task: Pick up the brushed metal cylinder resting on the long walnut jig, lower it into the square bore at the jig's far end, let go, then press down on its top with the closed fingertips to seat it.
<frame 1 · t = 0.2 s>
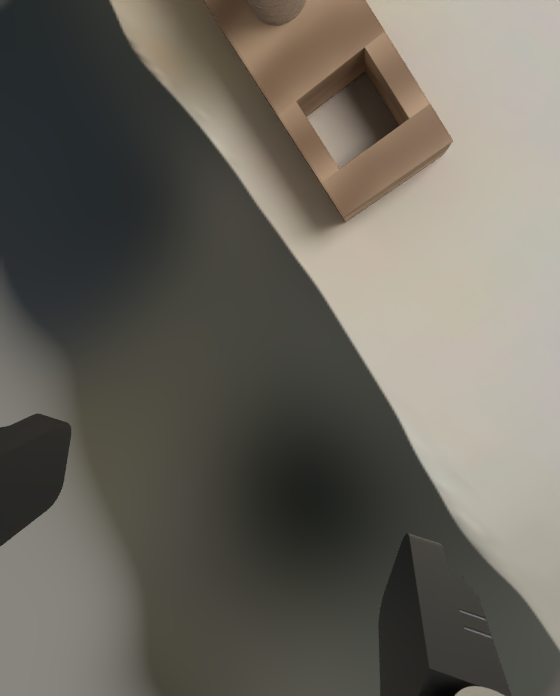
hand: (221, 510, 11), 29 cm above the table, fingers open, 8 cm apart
jig: (301, 45, 35), on the table
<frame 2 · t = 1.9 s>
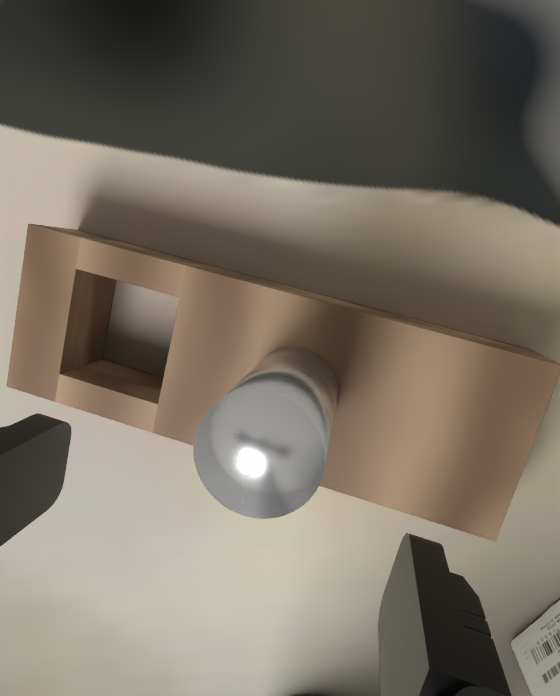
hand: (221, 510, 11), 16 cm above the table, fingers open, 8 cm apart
jig: (270, 360, 26), on the table
brushed metal cylinder: (294, 389, 22), point 4 cm above the table, touching jig
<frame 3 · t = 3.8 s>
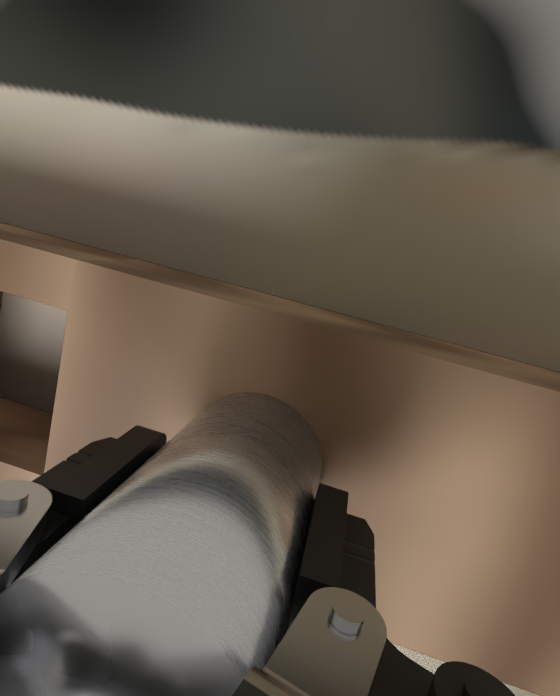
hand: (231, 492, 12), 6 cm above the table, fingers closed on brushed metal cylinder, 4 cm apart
jig: (226, 399, 18), on the table
brushed metal cylinder: (252, 459, 14), point 4 cm above the table, touching gripper, jig
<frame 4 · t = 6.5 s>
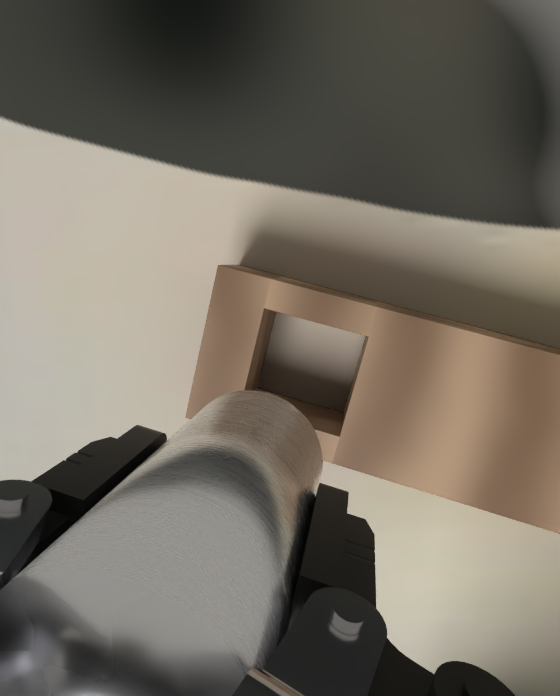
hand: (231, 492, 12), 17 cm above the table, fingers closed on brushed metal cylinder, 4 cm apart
jig: (429, 391, 27), on the table
brushed metal cylinder: (252, 457, 14), point 15 cm above the table, touching gripper
when the fingers open (5 cm above the table, at t = 9.3 s): brushed metal cylinder drops 3 cm, resting in jig.
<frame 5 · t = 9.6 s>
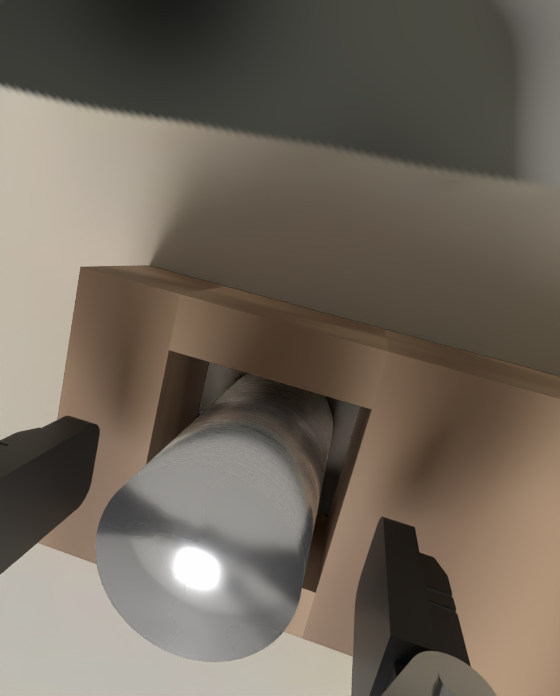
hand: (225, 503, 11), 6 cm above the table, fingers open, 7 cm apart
jig: (475, 486, 16), on the table
brushed metal cylinder: (275, 424, 17), resting in jig
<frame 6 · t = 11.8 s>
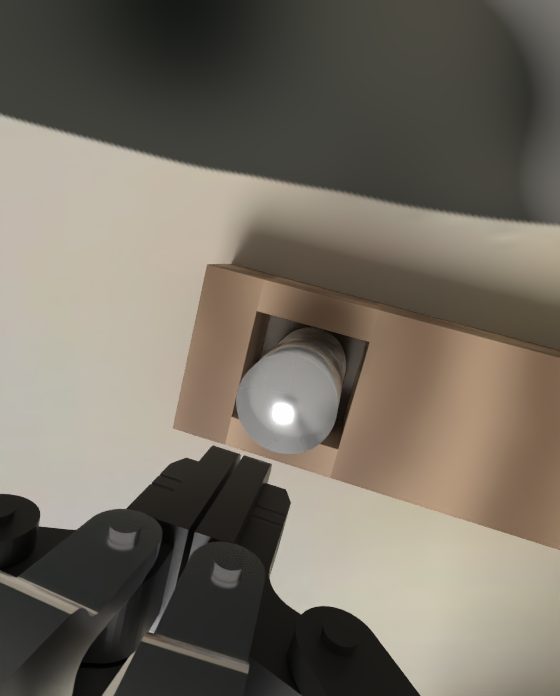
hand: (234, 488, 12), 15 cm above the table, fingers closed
jig: (434, 399, 26), on the table
brushed metal cylinder: (309, 363, 26), resting in jig
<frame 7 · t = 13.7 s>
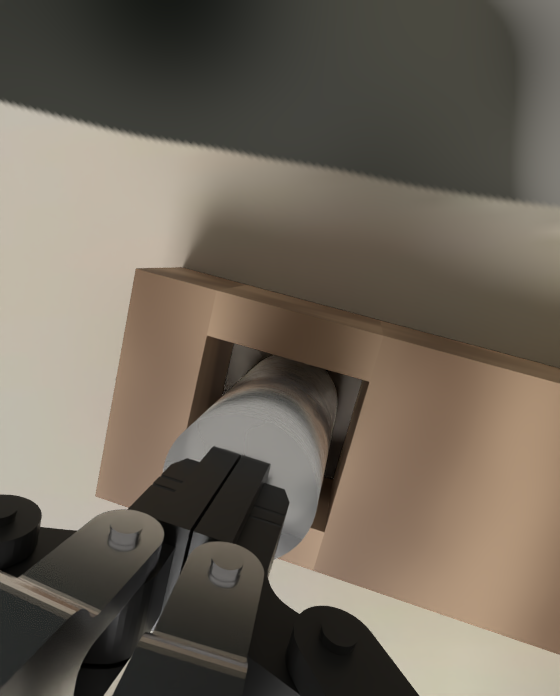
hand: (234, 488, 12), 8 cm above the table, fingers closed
jig: (457, 452, 19), on the table
brushed metal cylinder: (288, 400, 20), resting in jig, touching gripper
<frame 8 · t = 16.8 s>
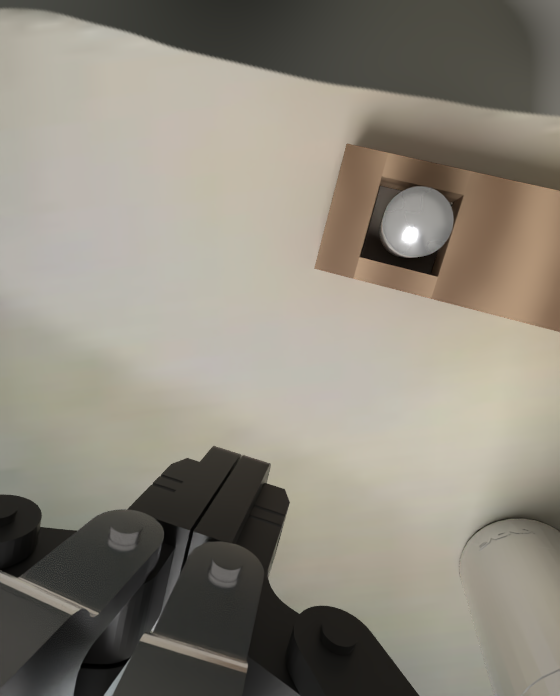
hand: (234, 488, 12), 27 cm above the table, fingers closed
jig: (500, 253, 35), on the table
brushed metal cylinder: (406, 230, 36), resting in jig
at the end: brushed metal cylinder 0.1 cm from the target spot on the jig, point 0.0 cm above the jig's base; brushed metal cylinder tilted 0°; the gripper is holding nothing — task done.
